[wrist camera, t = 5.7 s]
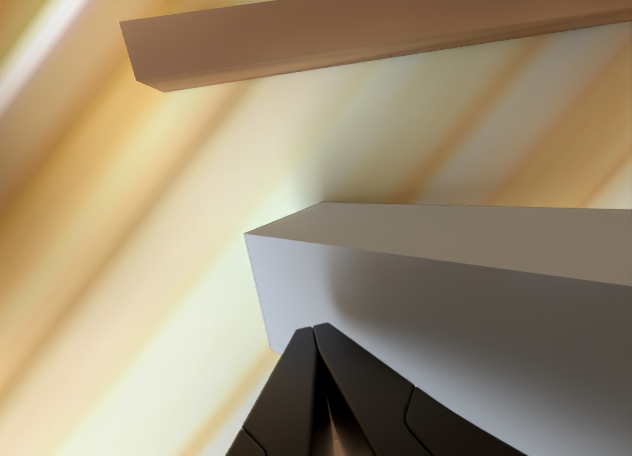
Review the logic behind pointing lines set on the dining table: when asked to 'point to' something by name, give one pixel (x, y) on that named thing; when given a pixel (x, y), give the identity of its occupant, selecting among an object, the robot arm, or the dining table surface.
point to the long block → (471, 309)
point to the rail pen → (335, 37)
